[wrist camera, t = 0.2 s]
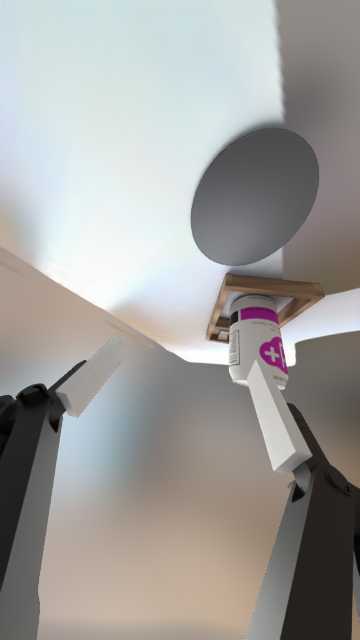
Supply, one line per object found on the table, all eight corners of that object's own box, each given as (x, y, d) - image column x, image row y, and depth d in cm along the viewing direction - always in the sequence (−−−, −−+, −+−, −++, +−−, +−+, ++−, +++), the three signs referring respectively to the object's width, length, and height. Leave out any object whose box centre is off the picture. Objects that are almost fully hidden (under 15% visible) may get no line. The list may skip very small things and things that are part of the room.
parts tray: (225, 274, 22) (225, 286, 21) (319, 283, 21) (325, 297, 20) (206, 332, 43) (205, 340, 42) (252, 339, 42) (252, 348, 41)
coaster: (193, 129, 11) (193, 130, 11) (365, 126, 10) (368, 127, 9) (189, 260, 21) (189, 261, 21) (271, 267, 20) (271, 269, 20)
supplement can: (260, 285, 23) (272, 380, 16) (282, 307, 27) (300, 392, 20) (221, 304, 29) (218, 378, 22) (244, 319, 33) (247, 387, 26)
